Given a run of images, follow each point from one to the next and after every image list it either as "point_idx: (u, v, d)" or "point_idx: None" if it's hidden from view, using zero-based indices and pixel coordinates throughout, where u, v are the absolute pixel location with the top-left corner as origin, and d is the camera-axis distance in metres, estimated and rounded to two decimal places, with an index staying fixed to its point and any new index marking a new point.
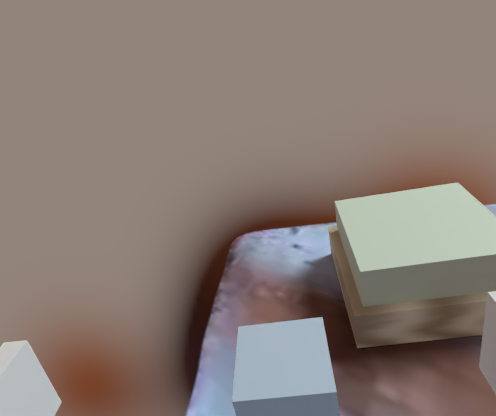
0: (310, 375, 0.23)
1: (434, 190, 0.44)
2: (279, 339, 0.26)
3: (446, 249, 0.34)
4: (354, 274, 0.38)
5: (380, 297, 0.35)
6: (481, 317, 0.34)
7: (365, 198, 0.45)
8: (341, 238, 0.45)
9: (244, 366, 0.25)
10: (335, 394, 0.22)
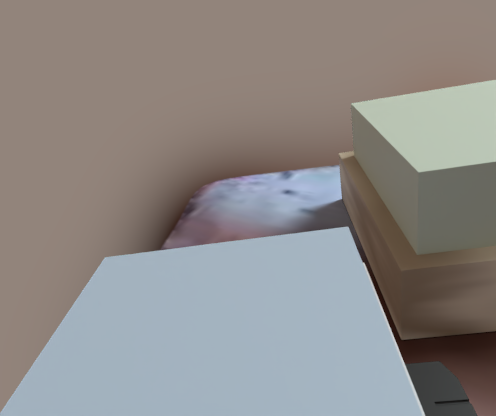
0: None
1: None
2: (208, 285, 0.08)
3: None
4: (393, 200, 0.20)
5: (455, 233, 0.17)
6: None
7: (401, 96, 0.28)
8: (362, 160, 0.27)
9: (59, 372, 0.06)
10: None
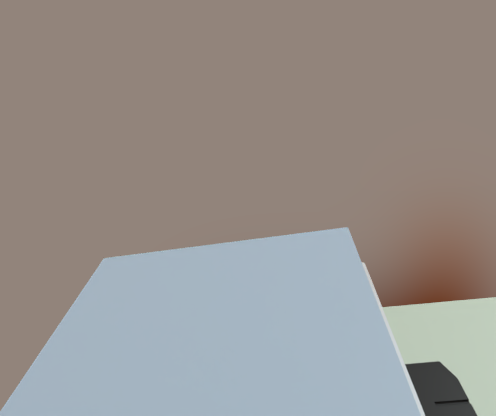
0: None
1: None
2: (207, 287, 0.08)
3: None
4: None
5: None
6: None
7: (396, 309, 0.31)
8: None
9: (57, 373, 0.06)
10: None
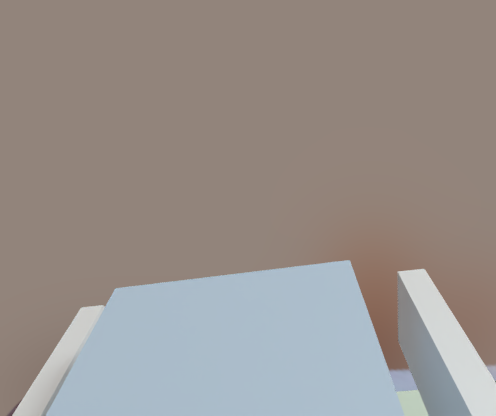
0: None
1: None
2: (216, 321, 0.08)
3: None
4: None
5: None
6: None
7: None
8: None
9: (78, 411, 0.07)
10: None
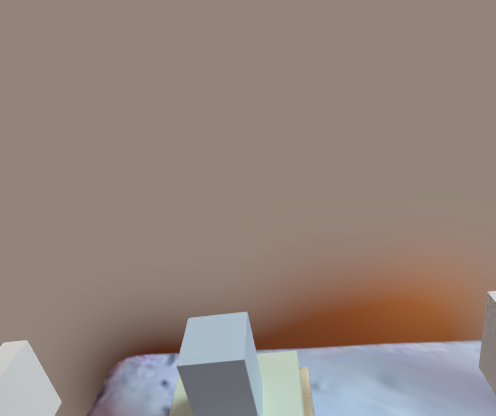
0: (230, 349, 0.34)
1: (272, 360, 0.45)
2: (214, 326, 0.37)
3: None
4: None
5: None
6: None
7: None
8: None
9: (188, 344, 0.36)
10: (243, 361, 0.33)
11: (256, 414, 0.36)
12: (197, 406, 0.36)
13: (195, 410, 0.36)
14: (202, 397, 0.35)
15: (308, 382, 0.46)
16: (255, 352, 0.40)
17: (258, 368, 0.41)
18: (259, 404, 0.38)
